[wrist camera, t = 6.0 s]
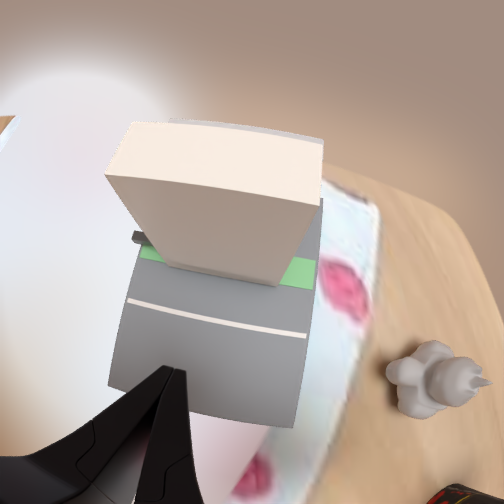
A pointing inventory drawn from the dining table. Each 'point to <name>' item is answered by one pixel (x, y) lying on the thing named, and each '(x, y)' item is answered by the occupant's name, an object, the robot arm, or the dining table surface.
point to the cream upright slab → (218, 196)
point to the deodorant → (463, 496)
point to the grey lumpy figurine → (434, 380)
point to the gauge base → (222, 328)
